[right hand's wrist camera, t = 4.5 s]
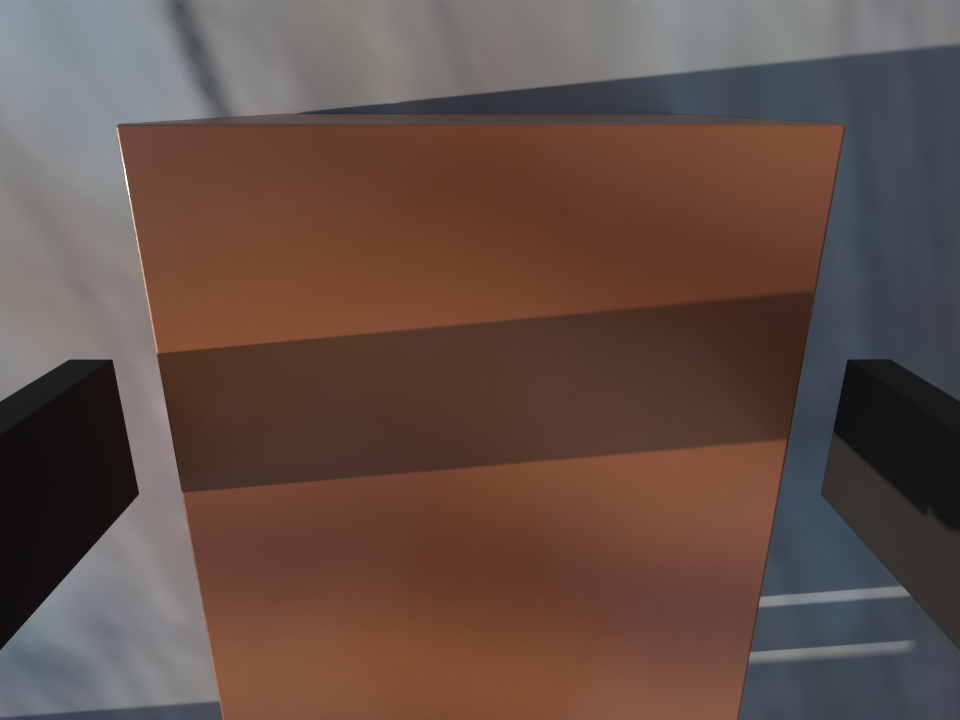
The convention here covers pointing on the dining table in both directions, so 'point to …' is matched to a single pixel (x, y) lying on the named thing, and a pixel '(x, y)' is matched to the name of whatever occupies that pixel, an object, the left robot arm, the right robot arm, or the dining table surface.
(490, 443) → the wooden drawer cabinet
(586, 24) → the dining table surface
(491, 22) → the dining table surface
